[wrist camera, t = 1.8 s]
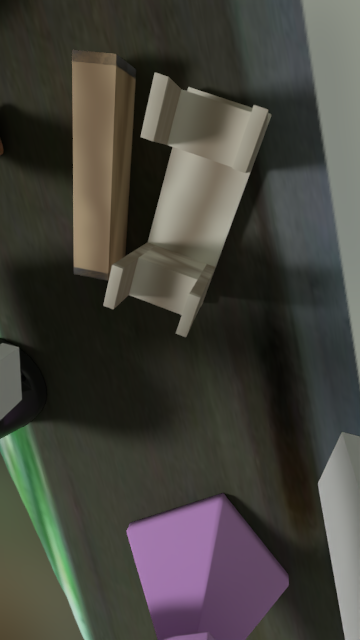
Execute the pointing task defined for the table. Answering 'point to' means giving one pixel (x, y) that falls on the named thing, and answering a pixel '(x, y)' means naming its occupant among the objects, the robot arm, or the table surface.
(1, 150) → the figurine
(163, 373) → the table surface
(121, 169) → the rail
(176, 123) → the wooden beam cradle
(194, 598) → the purple pedestal trophy
